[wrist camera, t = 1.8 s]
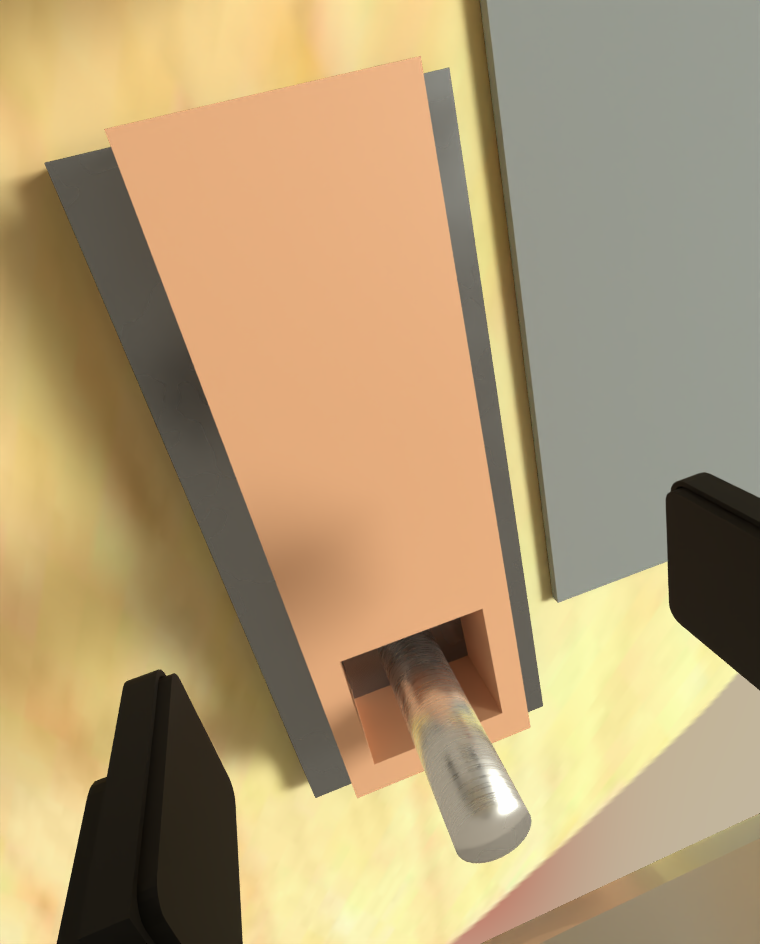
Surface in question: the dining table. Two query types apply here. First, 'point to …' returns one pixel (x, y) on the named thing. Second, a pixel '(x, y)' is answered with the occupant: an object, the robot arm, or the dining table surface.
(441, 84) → the pin stand
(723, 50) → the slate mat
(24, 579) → the dining table surface
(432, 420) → the link bar
